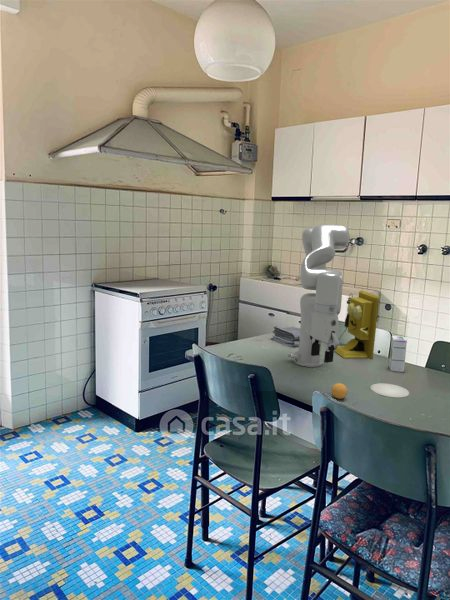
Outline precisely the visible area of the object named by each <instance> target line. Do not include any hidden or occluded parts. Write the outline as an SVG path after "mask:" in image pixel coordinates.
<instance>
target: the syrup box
mask: <svg viewBox="0 0 450 600" xmlns="http://www.w3.org/2000/svg"><path fill="white" fill-rule="evenodd" d="M390 339H391V340H390V348H389V349H390V351H389V361H388V369H389V370H390V371H392V372H396V373H397V372H400V373H404V372H405V363H406V353H407V343H408V339H406V337H405V336H402V335H391V338H390Z"/></svg>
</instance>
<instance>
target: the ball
mask: <svg viewBox="0 0 450 600" xmlns="http://www.w3.org/2000/svg"><path fill="white" fill-rule="evenodd" d="M331 394H332V396H333V397H334V398H336V399H338V400H339V399H344V398H345V397H346V396H348V395H347V394H348V388H347V386H346V385H345V384H343V383H335V384H333V386H332V388H331Z"/></svg>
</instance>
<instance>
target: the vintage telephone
mask: <svg viewBox="0 0 450 600" xmlns="http://www.w3.org/2000/svg"><path fill="white" fill-rule="evenodd" d="M379 301H380V296H379V295H376V294H373V293H371V292H368V291H365V290H361V289H360V291H358V297H357V296H355V297H354V296H353V293H350V295H349V297H348V298H347V300H346V304H347V308H346V309H347V310H346V311H347V313H346V317H345V320H344V328H346V329H345V330H344V331H343V333H342V334H341V335H340V337H338V340H340V339H341V338H342V337H343V335H344V333H345V332H346V331H347V332H348V333H349V334H350V335H352V336H354V338H351V339H350V340H349V341H347V343H346V344H345V345H338V346H337V348H336V349H335V351H334V353H336V354H338V355H339V356H340V357H341V358H343V359H368V358H369V360H373V359H374V350H375V341H376V332H377V323H378V321H377V320H378V312H379V304H380V302H379Z"/></svg>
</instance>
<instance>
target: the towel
mask: <svg viewBox="0 0 450 600" xmlns="http://www.w3.org/2000/svg"><path fill="white" fill-rule="evenodd" d="M273 329H274V330H273V331H272V333H273V335H272V336H271V337H270V340H271V341H274V342H276V343H279V344H282V345H284V346H288V347H291V348H292V347H293V348H294V347H299V340H300V327H295V326H287V327H282V328H281V327H279V326H277V325H275V326H273Z"/></svg>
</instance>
